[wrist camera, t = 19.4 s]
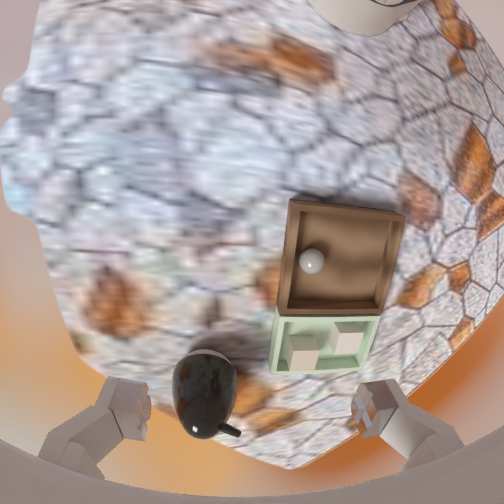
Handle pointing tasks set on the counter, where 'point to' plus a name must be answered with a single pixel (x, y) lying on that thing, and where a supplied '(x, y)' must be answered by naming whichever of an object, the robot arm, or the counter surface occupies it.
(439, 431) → the robot arm
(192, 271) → the counter surface
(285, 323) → the green tray
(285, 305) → the walnut crate
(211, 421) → the black rounded cone
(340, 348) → the small beige block
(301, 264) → the round pebble
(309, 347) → the beige cube
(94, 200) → the counter surface
